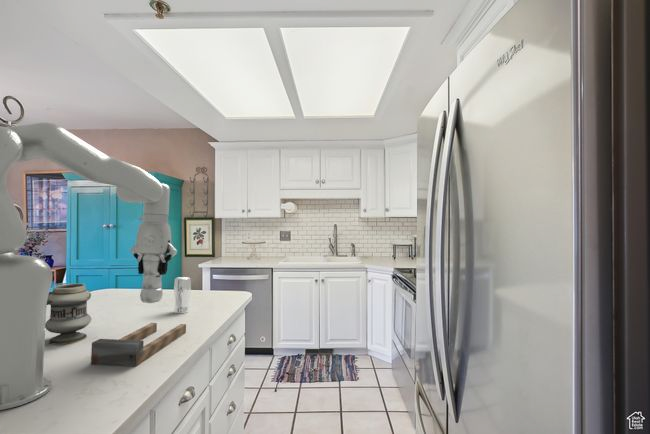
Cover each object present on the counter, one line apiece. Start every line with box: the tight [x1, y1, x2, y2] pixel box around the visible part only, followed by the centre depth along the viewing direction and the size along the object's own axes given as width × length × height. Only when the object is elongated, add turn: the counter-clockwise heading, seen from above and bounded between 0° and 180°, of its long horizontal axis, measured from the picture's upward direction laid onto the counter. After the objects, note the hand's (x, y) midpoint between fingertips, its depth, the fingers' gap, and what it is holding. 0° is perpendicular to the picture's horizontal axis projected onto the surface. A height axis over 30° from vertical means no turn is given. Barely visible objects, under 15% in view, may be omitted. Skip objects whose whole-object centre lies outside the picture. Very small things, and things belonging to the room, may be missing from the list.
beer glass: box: [173, 276, 192, 315], centre depth 143 cm, size 7×7×15 cm
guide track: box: [90, 322, 187, 367], centre depth 102 cm, size 28×13×6 cm, turn 177°
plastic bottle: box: [139, 254, 164, 304], centre depth 106 cm, size 6×7×20 cm
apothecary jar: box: [45, 282, 92, 346], centre depth 107 cm, size 12×12×18 cm
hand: (152, 273), depth 106 cm, fingers closed on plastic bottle, 6 cm apart
